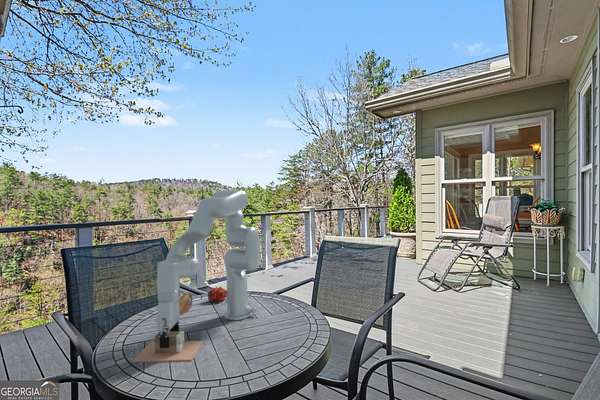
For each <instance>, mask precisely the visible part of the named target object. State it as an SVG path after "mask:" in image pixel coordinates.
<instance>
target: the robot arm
mask: <svg viewBox="0 0 600 400" xmlns="http://www.w3.org/2000/svg"><path fill="white" fill-rule="evenodd" d="M248 196H249V195H248V194H247V192H245V191H244V190H241V189H230V190H229V189H226V190H224V189H223V190H217V191H215V192H214V193H213V194H212V197H204V198H202V199H201V200H200V201H199V202H198V205H197V208H196V210H195V212H194V215H193V217H192V219H191V222H190V224H189V227H188V228H187V229H186V231H184V232H183V233H182V234H181V235H180V236H179V237H178V238H177V239H176V240H175V241H174V242H173V243H172V245H171V246H170V249H169V250H168V253H167V255H166V258H165V260H162V261H159V262H158V263H157V266H156V270H157V271H156V273H157V276H156V278H157V301H158V303H157V310H156V311H157V312H156V329H157V331H158V333H157V334H159V340H160V348H169V336H168V334H169V332H177V331H180V316H179V298H180V295H181V287H180V286H181V284H180V283H181V279H187V278H192V277H195V276H196V275H198V274H199V272H200V270H201V268H202V266H201V262H200V261H199V259H197V258H196V257H192V256H185V254H186V252H187V251H188V250H189V249H190V248H191V247H192V246H193V245H195V244H197V243H199V242H202V241H204V240H206V239H207V238H208V237H209V236H210V234H211V231H212V228H213V226H214V223H215V221H216V219H218V218H219V219H221V218H222V219H224V221H225V223H224V224H225V234H226V236H225V237H226V242H227V244H228V245H229V246H232V247H238V248H231V249H228V250H227V251H226V252H225V253H224V258H223V262H224V267H225V268H224V269H225V272H226V273H225V274H226V290H227V296H226V311H225V312H224V313H223V317H224V318H225V319H226V320H228V321H229V320H230V321H241V320H245V319H247V318H249V317H250V316H251V315H252V313H257V312H258V307H256V306H250V305H249V303H248V276H247V272H246V271H249V272H254V271H257V269H259V268H260V264H261V239H260V238H261V237H260V234H259V231H258V230H257V228H255V226H248V225H247V226H246V225H245V220H244V218H245V217H244V214H243V213H244V212H243V209H245V208H246V207H247V205H248V202H249V197H248ZM240 247H242V248H240ZM165 332H166V333H165Z"/></svg>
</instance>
